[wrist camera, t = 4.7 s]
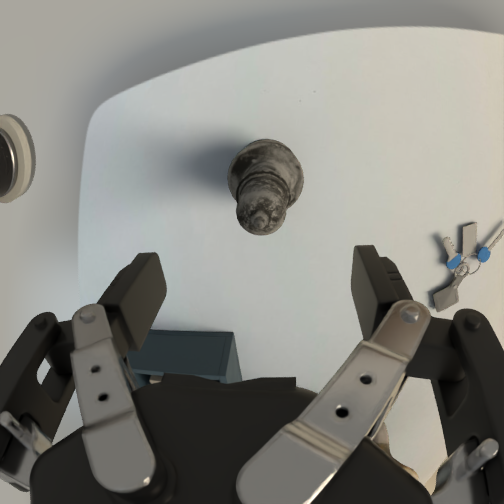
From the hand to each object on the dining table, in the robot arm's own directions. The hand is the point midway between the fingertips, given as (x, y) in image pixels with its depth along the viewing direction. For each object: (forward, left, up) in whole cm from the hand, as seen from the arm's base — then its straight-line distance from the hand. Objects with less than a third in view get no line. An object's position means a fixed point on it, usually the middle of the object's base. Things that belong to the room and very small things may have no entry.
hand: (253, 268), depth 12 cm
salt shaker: (0, 0, -17) cm, 17 cm away
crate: (-12, -26, -16) cm, 33 cm away
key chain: (+21, -10, -16) cm, 28 cm away
